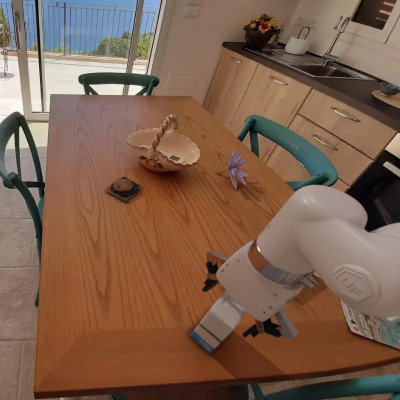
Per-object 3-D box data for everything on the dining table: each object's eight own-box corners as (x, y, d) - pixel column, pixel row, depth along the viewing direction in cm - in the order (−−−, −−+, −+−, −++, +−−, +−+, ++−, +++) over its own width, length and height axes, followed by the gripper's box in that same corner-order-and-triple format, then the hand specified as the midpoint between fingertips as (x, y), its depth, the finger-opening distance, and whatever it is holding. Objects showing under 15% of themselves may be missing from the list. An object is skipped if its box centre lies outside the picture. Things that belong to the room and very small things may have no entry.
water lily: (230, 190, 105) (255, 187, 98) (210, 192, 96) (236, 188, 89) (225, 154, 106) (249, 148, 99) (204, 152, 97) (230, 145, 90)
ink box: (209, 354, 55) (234, 331, 47) (188, 334, 57) (208, 309, 49) (230, 327, 59) (256, 302, 51) (209, 310, 62) (231, 283, 54)
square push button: (125, 203, 87) (127, 195, 84) (105, 191, 90) (106, 183, 88) (142, 188, 93) (145, 180, 90) (122, 177, 97) (124, 169, 94)
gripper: (353, 298, 36) (280, 342, 48) (244, 213, 47) (206, 266, 59) (322, 323, 33) (253, 364, 45) (214, 227, 44) (181, 280, 56)
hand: (227, 309), depth 52 cm, fingers open, 9 cm apart
